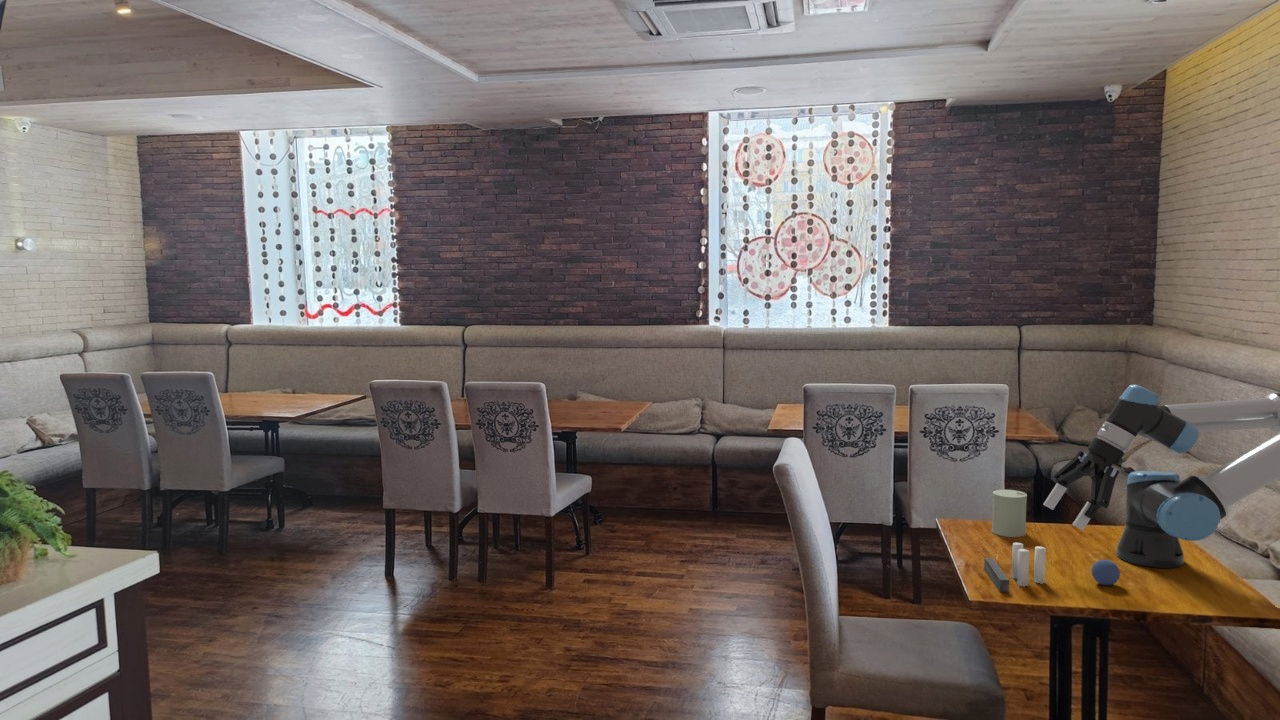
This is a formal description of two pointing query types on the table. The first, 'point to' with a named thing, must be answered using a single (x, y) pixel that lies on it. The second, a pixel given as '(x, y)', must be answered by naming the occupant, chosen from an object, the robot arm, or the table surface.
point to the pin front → (1039, 565)
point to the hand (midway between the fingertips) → (1062, 517)
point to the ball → (1105, 572)
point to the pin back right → (1015, 559)
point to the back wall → (996, 575)
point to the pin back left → (1023, 567)
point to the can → (1009, 513)
